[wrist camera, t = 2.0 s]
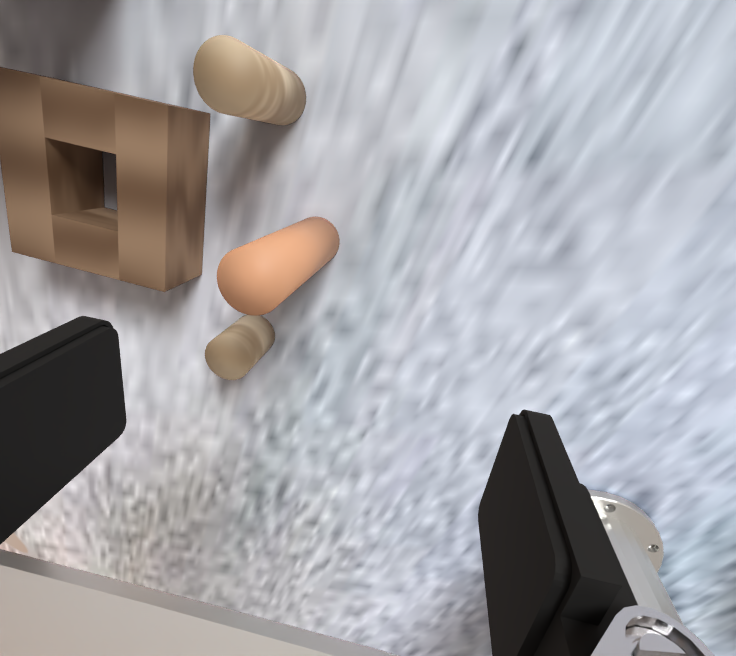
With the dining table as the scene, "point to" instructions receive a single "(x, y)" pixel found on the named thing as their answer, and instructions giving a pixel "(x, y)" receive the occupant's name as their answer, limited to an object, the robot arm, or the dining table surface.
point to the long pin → (275, 265)
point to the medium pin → (247, 82)
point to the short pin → (239, 347)
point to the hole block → (85, 179)
